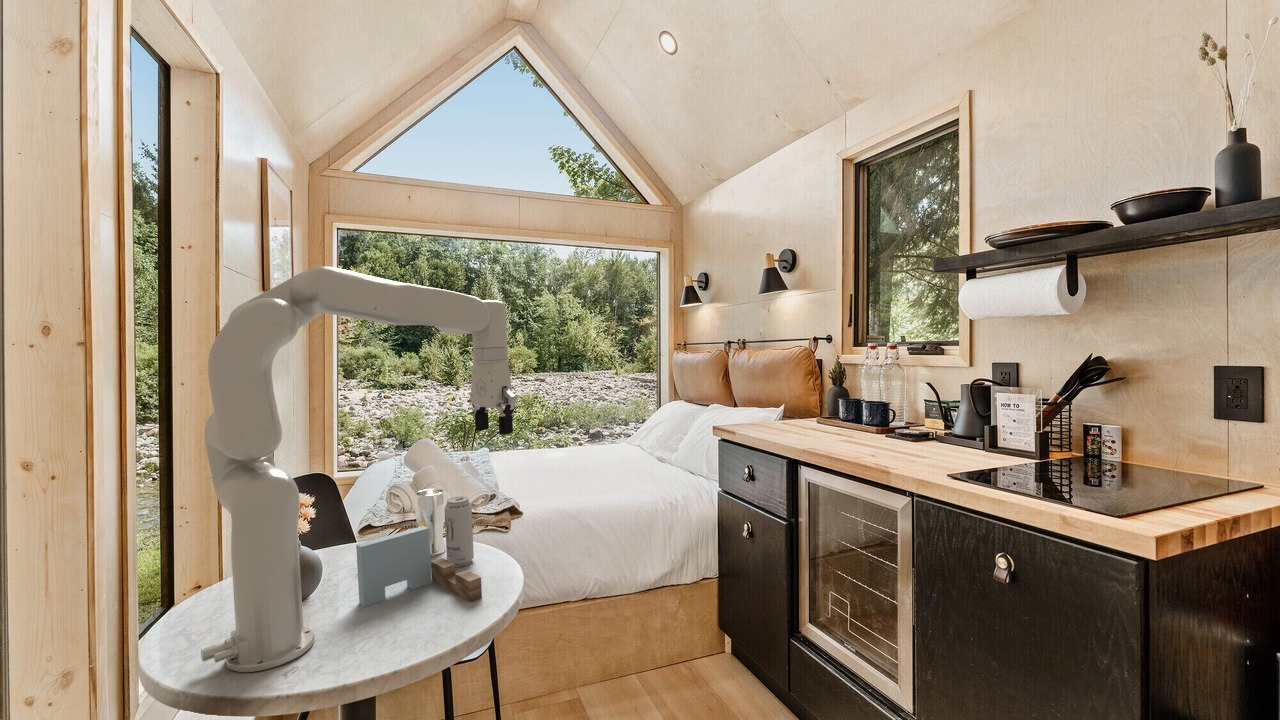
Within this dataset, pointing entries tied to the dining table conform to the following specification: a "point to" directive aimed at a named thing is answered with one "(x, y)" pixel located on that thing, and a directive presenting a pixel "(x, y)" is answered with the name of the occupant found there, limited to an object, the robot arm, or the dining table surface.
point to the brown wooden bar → (456, 580)
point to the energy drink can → (459, 531)
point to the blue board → (393, 563)
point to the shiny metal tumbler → (432, 517)
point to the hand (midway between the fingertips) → (493, 431)
